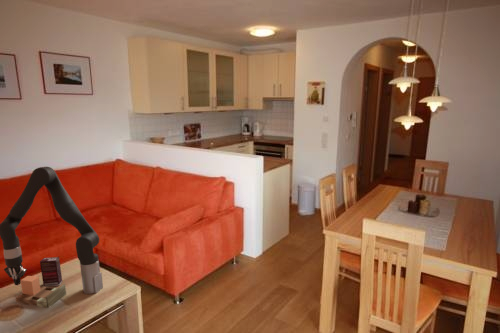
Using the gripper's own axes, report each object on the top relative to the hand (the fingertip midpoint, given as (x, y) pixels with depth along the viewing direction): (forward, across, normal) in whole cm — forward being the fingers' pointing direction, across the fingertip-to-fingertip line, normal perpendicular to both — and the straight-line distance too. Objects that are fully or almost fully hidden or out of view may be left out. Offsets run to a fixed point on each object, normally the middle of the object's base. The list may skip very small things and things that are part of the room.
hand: (17, 284), depth 175 cm
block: (+4, -9, 0) cm, 9 cm away
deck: (+6, -15, 0) cm, 16 cm away
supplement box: (+7, -10, -13) cm, 17 cm away
